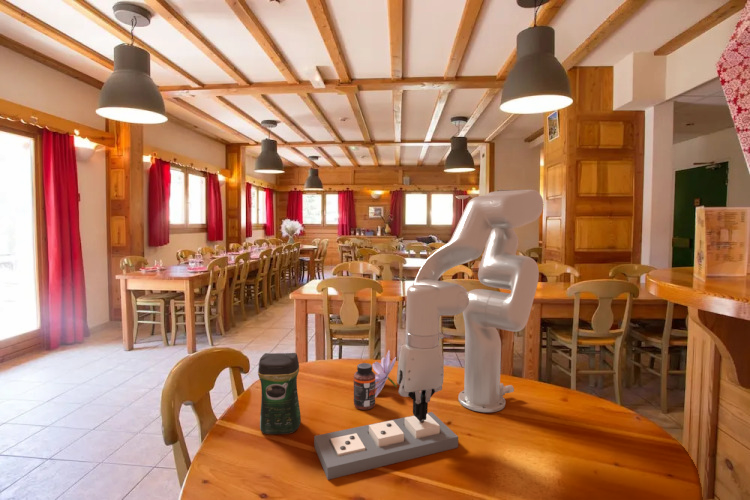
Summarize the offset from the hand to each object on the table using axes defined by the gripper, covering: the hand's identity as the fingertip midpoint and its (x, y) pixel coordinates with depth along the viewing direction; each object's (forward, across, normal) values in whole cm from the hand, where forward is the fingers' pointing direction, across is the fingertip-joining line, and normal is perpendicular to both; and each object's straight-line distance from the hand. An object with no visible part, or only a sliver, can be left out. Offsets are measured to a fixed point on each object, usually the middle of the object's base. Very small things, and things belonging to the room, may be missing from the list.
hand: (419, 417), depth 91 cm
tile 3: (+5, +17, 0) cm, 18 cm away
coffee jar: (+6, +29, -17) cm, 35 cm away
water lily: (+5, -2, -29) cm, 30 cm away
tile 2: (+4, +8, 0) cm, 9 cm away
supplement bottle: (+6, +6, -20) cm, 22 cm away
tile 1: (+4, -1, 0) cm, 4 cm away
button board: (+6, +8, 0) cm, 10 cm away
